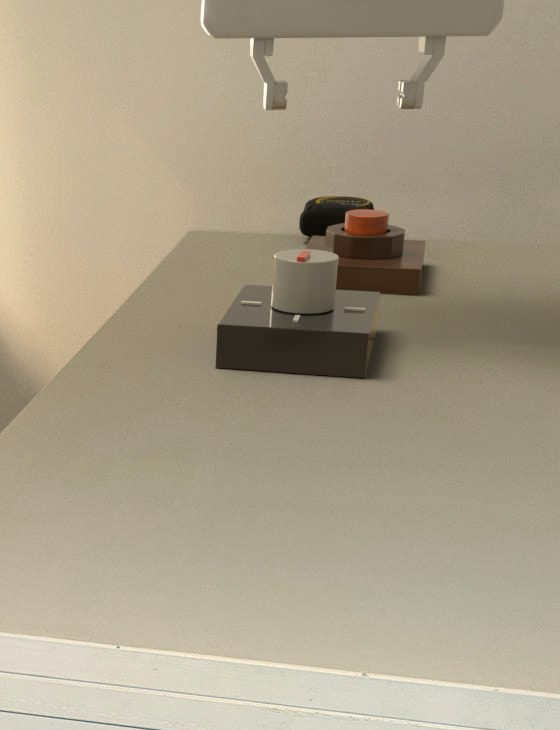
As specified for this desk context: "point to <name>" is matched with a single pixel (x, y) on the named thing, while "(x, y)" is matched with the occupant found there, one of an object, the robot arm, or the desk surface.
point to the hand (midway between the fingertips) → (341, 108)
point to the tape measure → (328, 213)
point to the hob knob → (304, 281)
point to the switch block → (374, 260)
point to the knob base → (298, 335)
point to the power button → (366, 222)
